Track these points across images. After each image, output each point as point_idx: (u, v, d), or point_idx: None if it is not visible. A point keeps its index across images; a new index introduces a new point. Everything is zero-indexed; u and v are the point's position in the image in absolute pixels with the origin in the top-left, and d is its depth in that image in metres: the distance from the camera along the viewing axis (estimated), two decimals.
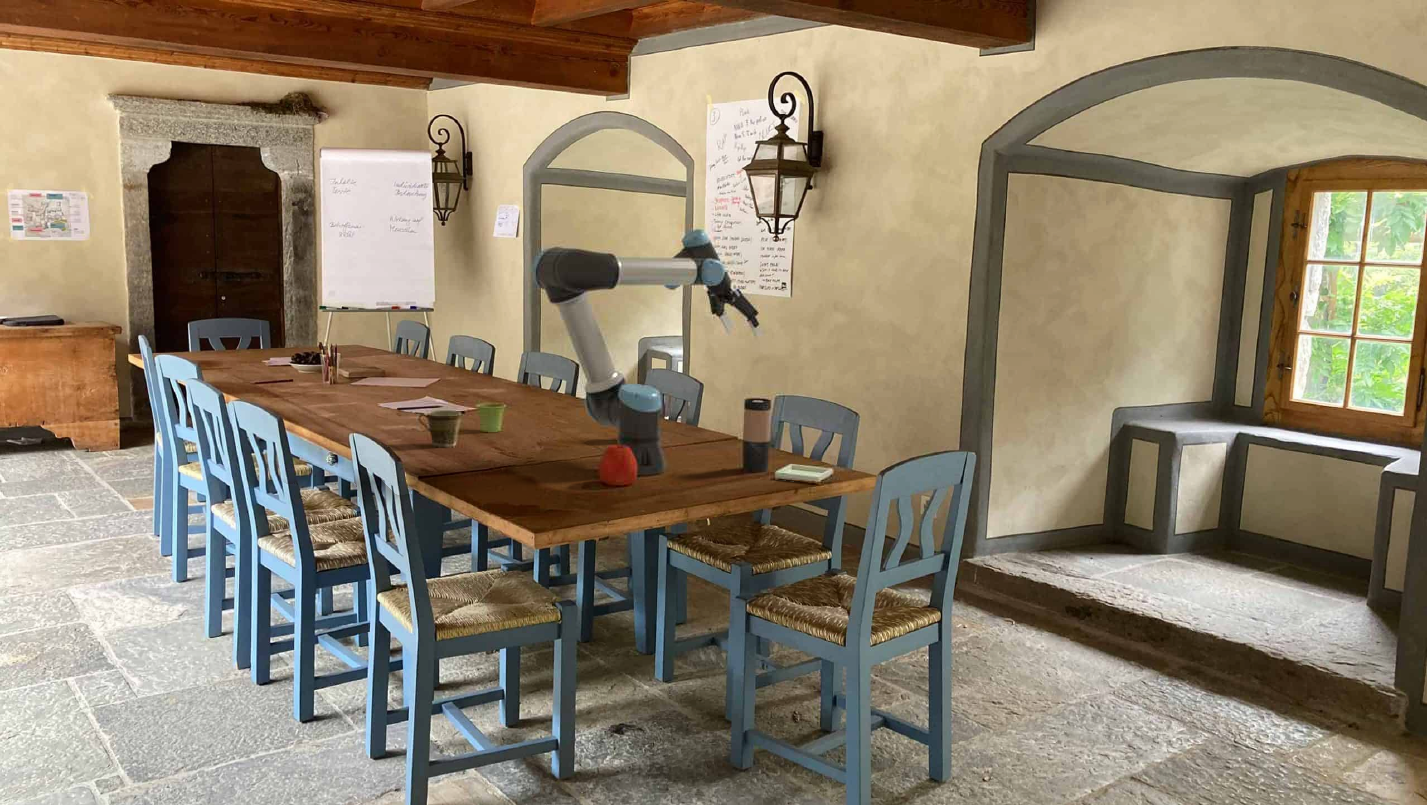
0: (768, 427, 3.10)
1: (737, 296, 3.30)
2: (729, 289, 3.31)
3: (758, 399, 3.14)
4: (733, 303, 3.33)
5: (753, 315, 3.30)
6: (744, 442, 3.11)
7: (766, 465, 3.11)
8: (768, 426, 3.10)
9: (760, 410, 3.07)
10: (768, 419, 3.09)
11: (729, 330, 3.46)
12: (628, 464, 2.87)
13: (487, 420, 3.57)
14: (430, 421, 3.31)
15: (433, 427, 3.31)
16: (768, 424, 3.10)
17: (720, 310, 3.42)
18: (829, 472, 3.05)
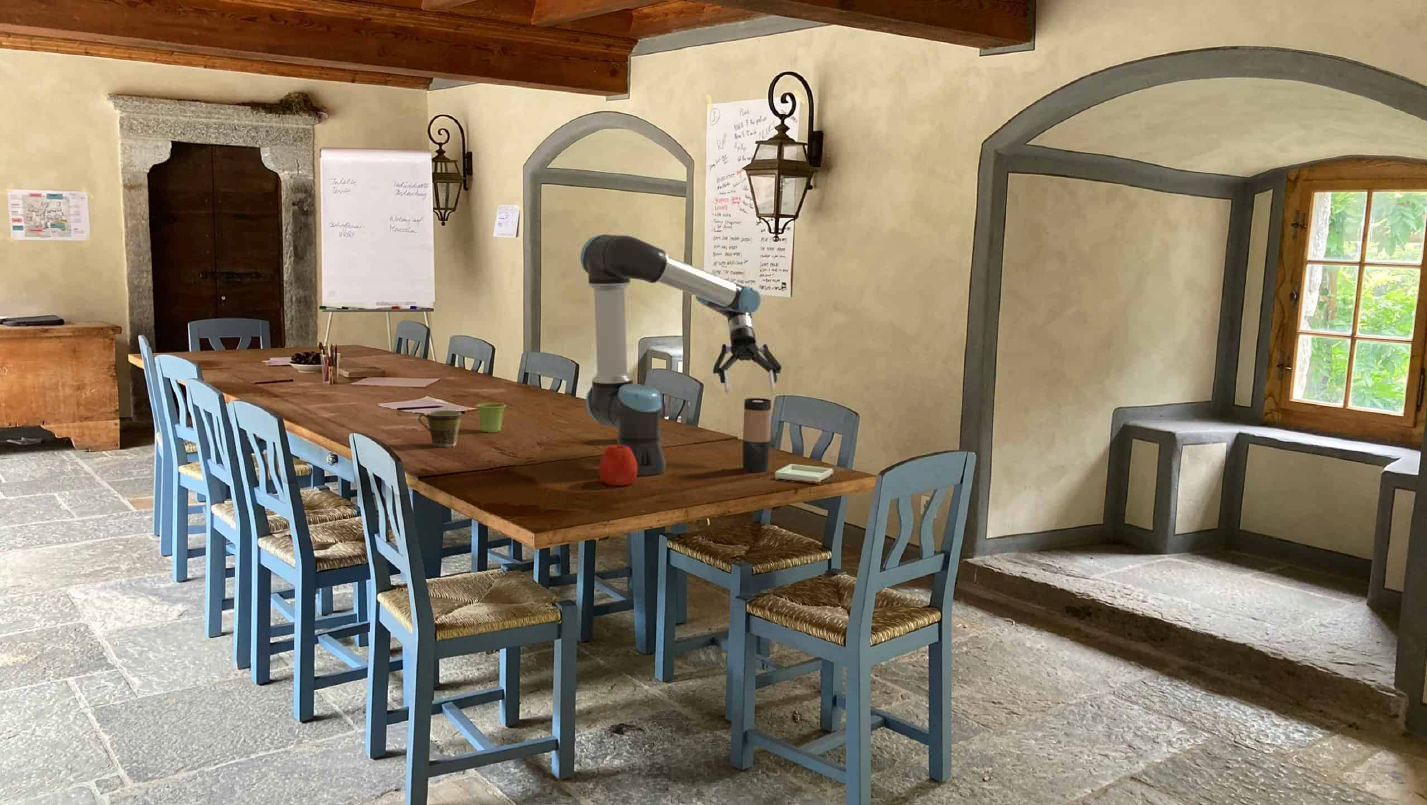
0: (768, 427, 3.10)
1: None
2: None
3: (758, 399, 3.14)
4: None
5: None
6: (744, 442, 3.11)
7: (766, 465, 3.11)
8: (768, 426, 3.10)
9: (760, 410, 3.07)
10: (768, 419, 3.09)
11: (728, 386, 3.20)
12: (628, 464, 2.87)
13: (487, 420, 3.57)
14: (430, 421, 3.31)
15: (433, 427, 3.31)
16: (768, 424, 3.10)
17: (728, 365, 3.25)
18: (829, 472, 3.05)
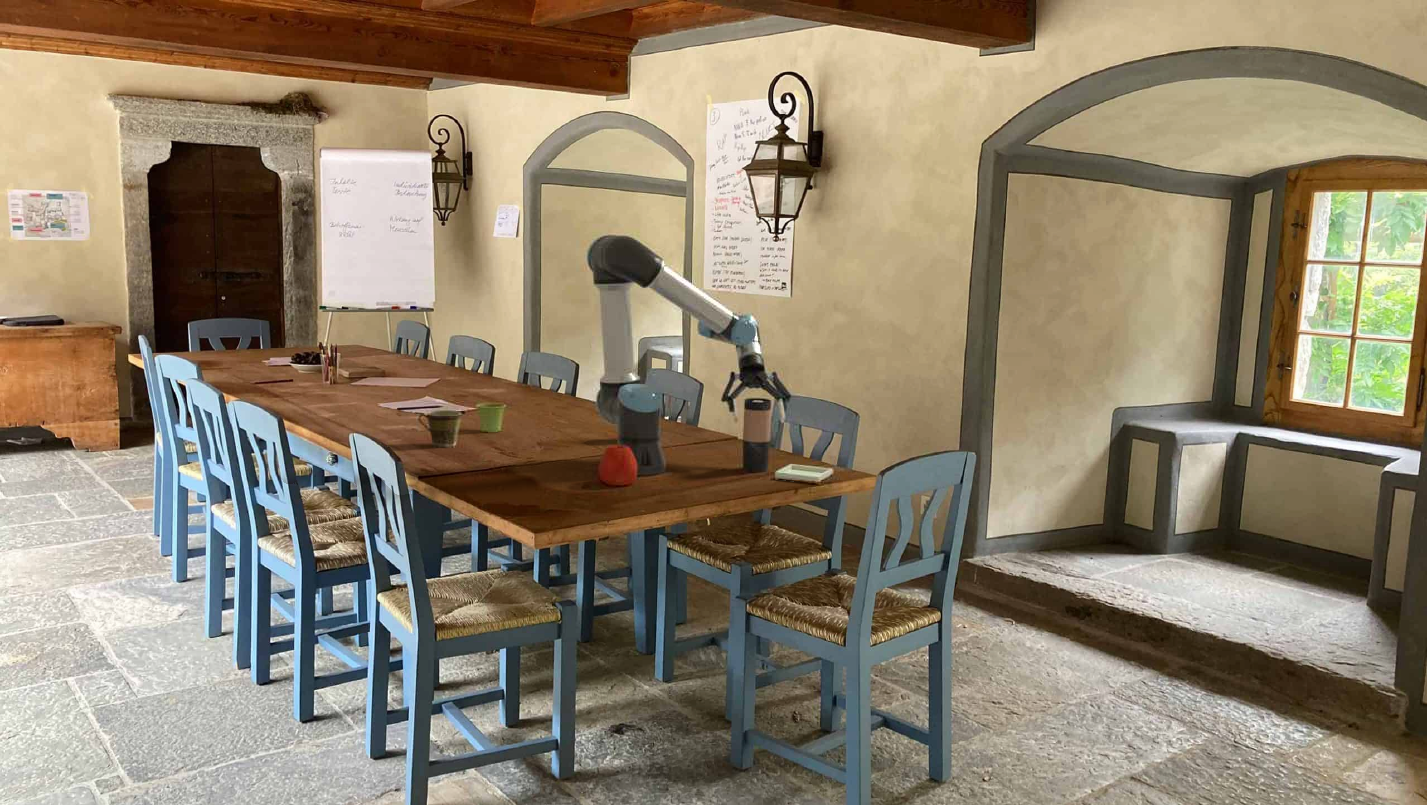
0: (768, 427, 3.10)
1: None
2: None
3: (758, 399, 3.14)
4: None
5: None
6: (744, 442, 3.11)
7: (766, 465, 3.11)
8: (768, 426, 3.10)
9: (760, 410, 3.07)
10: (768, 419, 3.09)
11: None
12: (628, 464, 2.87)
13: (487, 420, 3.57)
14: (430, 421, 3.31)
15: (433, 427, 3.31)
16: (768, 424, 3.10)
17: (737, 394, 3.18)
18: (829, 472, 3.05)
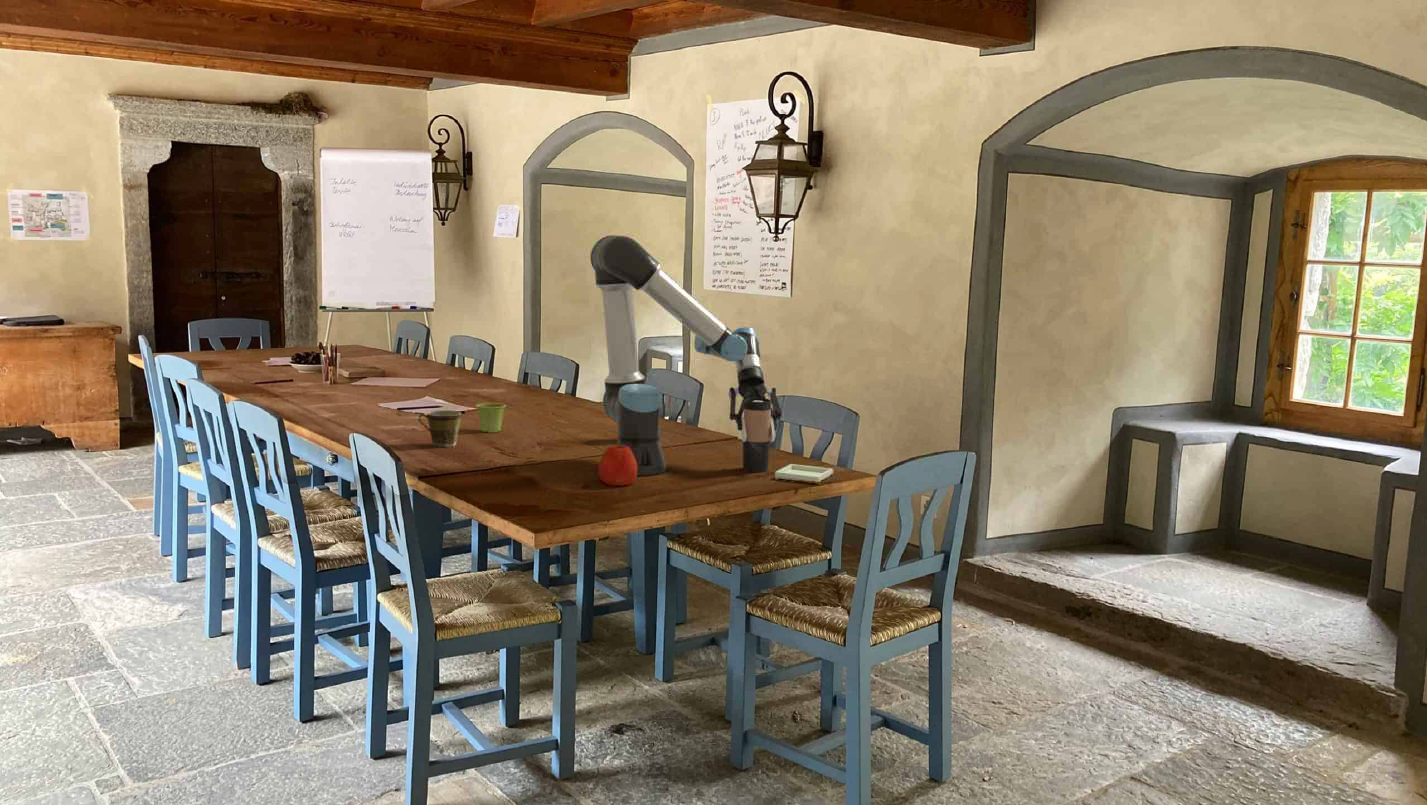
0: (768, 427, 3.10)
1: None
2: None
3: (758, 399, 3.14)
4: None
5: None
6: (744, 442, 3.11)
7: (766, 465, 3.11)
8: (768, 426, 3.10)
9: (760, 410, 3.07)
10: (768, 419, 3.09)
11: None
12: (628, 464, 2.87)
13: (487, 420, 3.57)
14: (430, 421, 3.31)
15: (433, 427, 3.31)
16: (768, 424, 3.10)
17: (743, 410, 3.13)
18: (829, 472, 3.05)
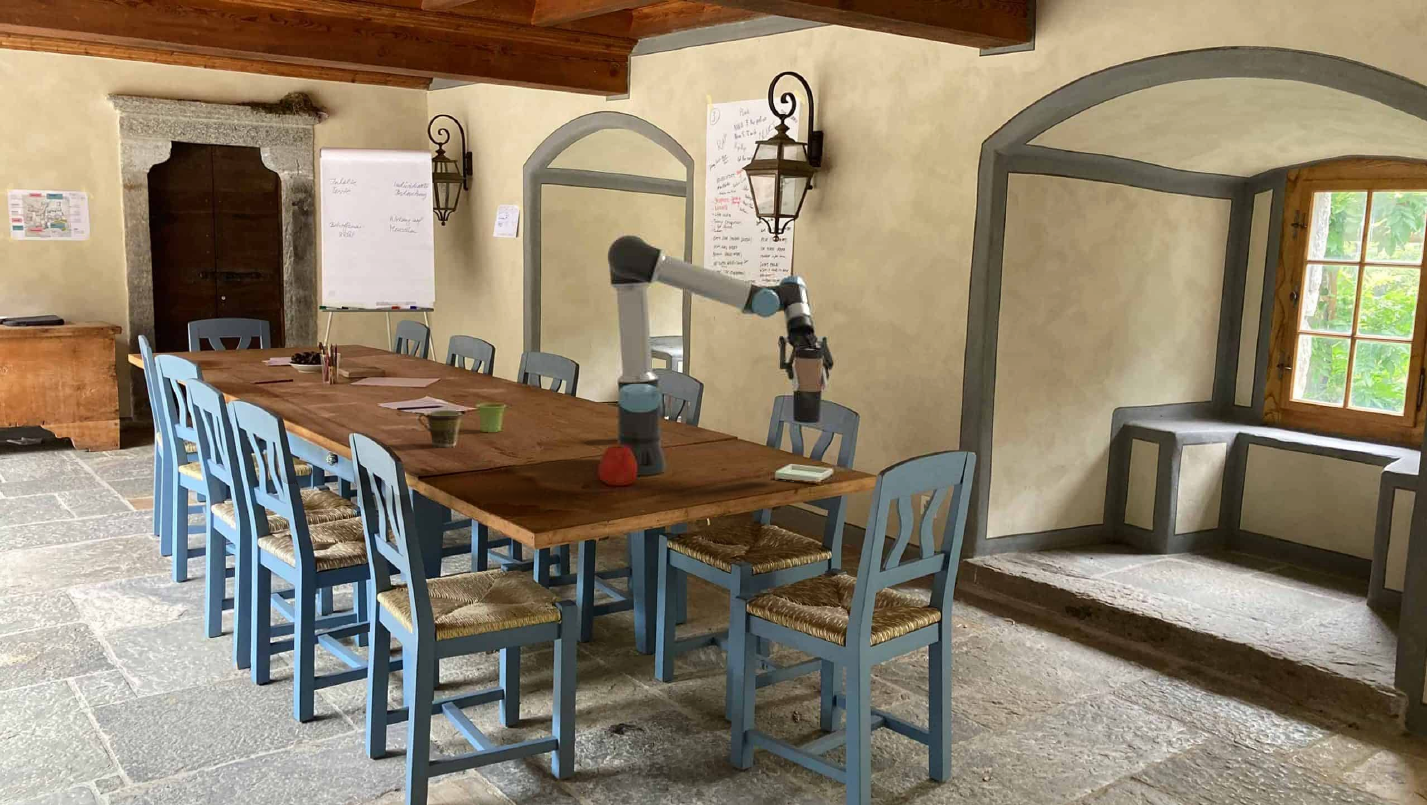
0: (820, 376, 2.99)
1: None
2: None
3: (809, 348, 3.03)
4: None
5: None
6: (795, 392, 3.00)
7: (818, 416, 3.01)
8: (820, 375, 2.99)
9: (812, 358, 2.97)
10: (820, 368, 2.99)
11: None
12: (628, 464, 2.87)
13: (487, 420, 3.57)
14: (430, 421, 3.31)
15: (433, 427, 3.31)
16: (820, 373, 2.99)
17: None
18: (829, 472, 3.05)
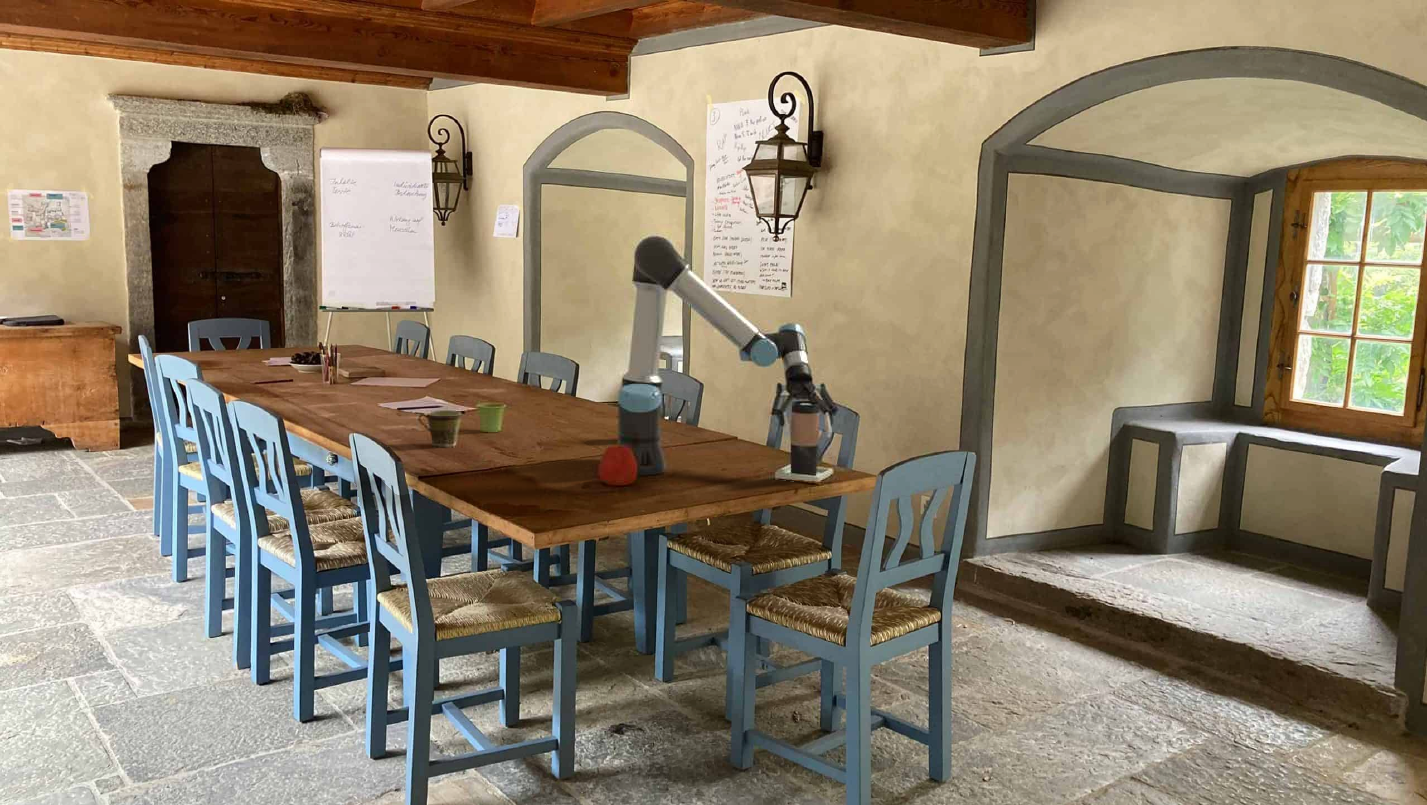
0: (817, 430, 3.01)
1: None
2: None
3: (805, 402, 3.06)
4: None
5: None
6: (792, 446, 3.02)
7: (815, 470, 3.03)
8: (817, 429, 3.01)
9: (808, 413, 2.99)
10: (817, 422, 3.01)
11: None
12: (628, 464, 2.87)
13: (487, 420, 3.57)
14: (430, 421, 3.31)
15: (433, 427, 3.31)
16: (817, 427, 3.01)
17: (786, 406, 3.05)
18: (829, 472, 3.05)
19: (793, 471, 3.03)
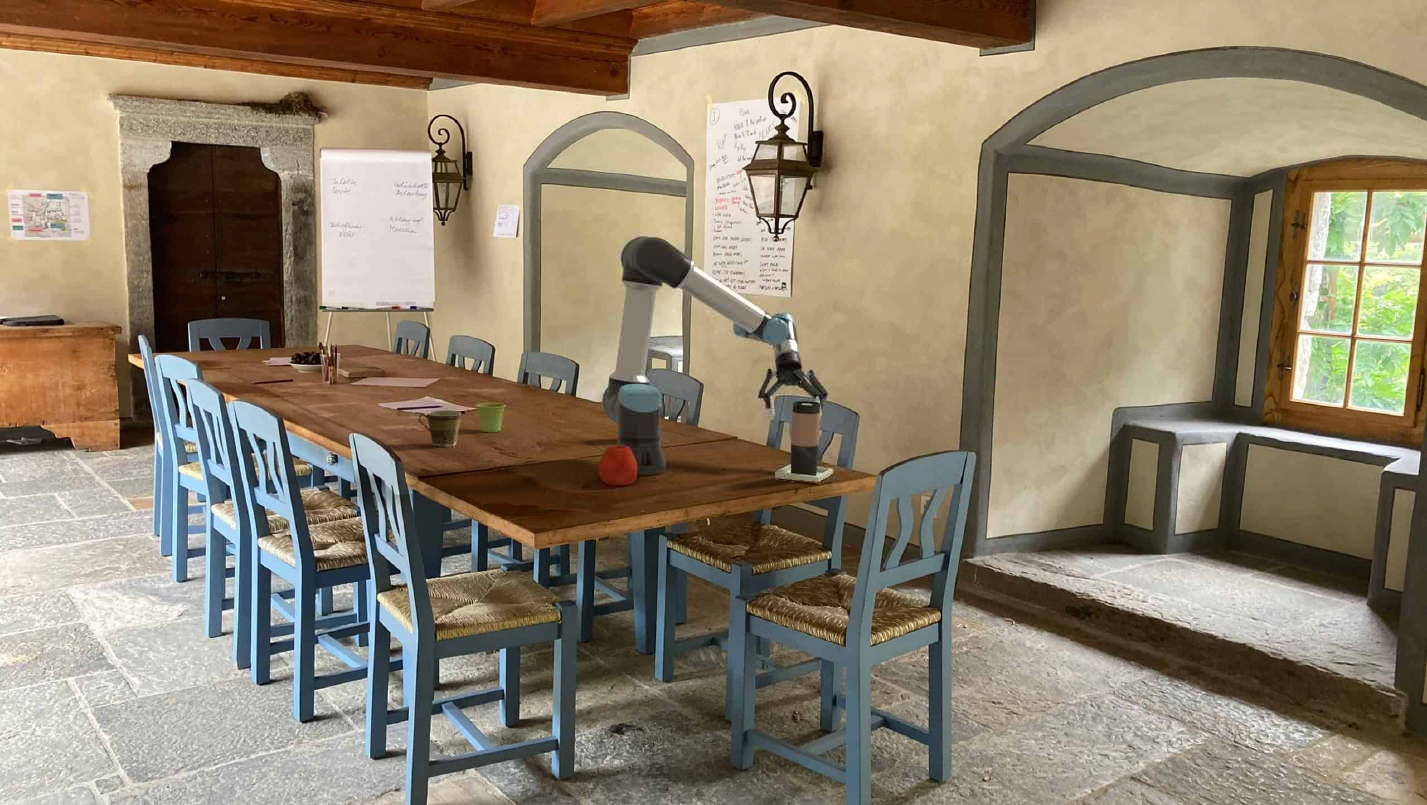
0: (817, 431, 3.01)
1: None
2: None
3: (806, 402, 3.06)
4: None
5: None
6: (792, 446, 3.02)
7: (815, 470, 3.03)
8: (817, 430, 3.01)
9: (809, 414, 2.99)
10: (817, 423, 3.01)
11: None
12: (628, 464, 2.87)
13: (487, 420, 3.57)
14: (430, 421, 3.31)
15: (433, 427, 3.31)
16: (817, 428, 3.01)
17: (773, 391, 3.18)
18: (829, 472, 3.05)
19: (793, 471, 3.03)
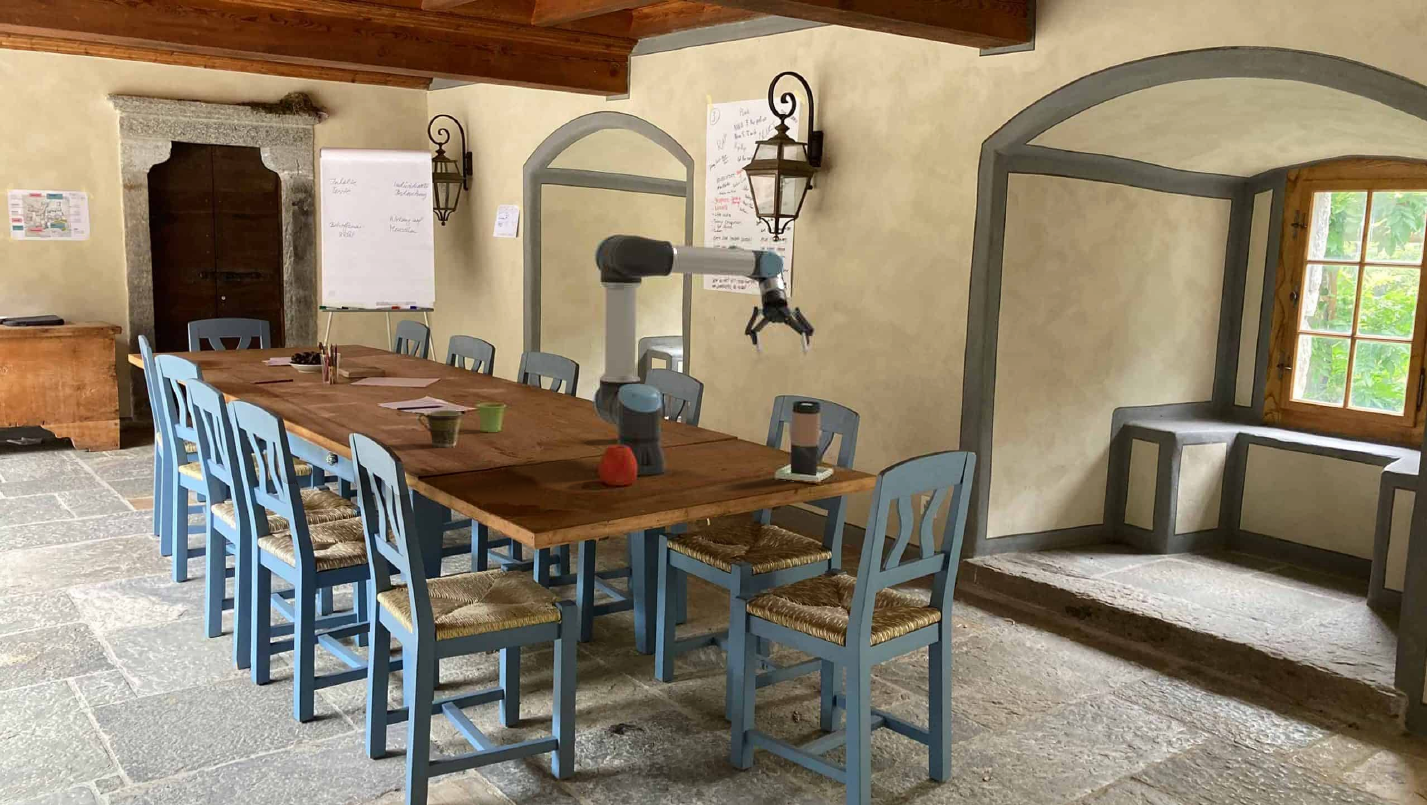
0: (817, 431, 3.01)
1: None
2: None
3: (806, 402, 3.06)
4: None
5: None
6: (792, 446, 3.02)
7: (815, 470, 3.03)
8: (817, 430, 3.01)
9: (809, 414, 2.99)
10: (817, 423, 3.01)
11: None
12: (628, 464, 2.87)
13: (487, 420, 3.57)
14: (430, 421, 3.31)
15: (433, 427, 3.31)
16: (817, 428, 3.01)
17: (760, 327, 3.20)
18: (829, 472, 3.05)
19: (793, 471, 3.03)
